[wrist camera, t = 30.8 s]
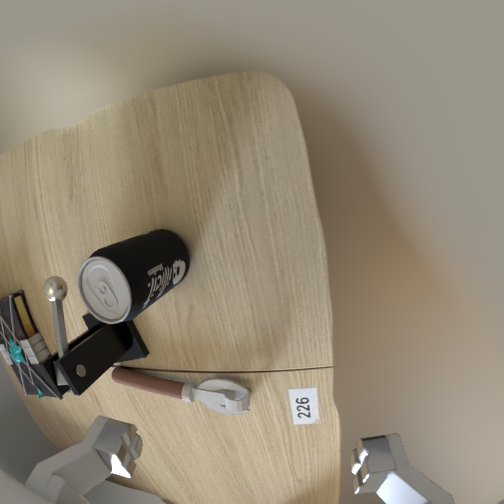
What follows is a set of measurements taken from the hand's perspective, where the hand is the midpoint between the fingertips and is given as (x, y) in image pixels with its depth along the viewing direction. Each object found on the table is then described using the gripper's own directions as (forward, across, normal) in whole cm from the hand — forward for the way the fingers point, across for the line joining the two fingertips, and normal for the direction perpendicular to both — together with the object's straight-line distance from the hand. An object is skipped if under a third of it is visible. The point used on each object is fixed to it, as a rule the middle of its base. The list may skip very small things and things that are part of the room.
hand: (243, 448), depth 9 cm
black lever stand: (+24, +20, +14) cm, 34 cm away
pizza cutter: (+22, +11, +20) cm, 32 cm away
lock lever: (+17, +23, +9) cm, 30 cm away
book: (+26, +47, +23) cm, 58 cm away
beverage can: (+24, +11, +2) cm, 27 cm away
